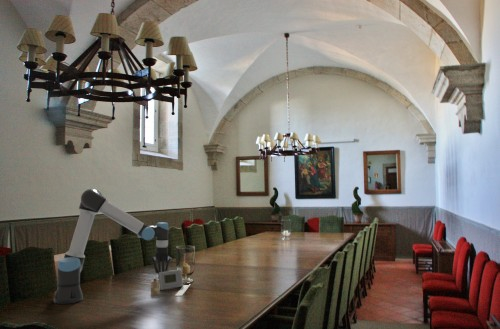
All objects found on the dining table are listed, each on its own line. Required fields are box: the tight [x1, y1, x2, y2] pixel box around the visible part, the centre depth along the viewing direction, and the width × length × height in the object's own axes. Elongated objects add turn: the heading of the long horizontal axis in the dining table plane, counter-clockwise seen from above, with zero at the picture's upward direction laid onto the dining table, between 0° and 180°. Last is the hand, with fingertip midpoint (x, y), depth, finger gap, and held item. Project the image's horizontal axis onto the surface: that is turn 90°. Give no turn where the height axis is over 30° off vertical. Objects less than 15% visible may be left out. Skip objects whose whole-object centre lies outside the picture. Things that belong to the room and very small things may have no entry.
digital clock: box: [158, 268, 184, 291], centre depth 259 cm, size 16×9×11 cm, turn 118°
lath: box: [174, 284, 192, 297], centre depth 256 cm, size 4×36×1 cm, turn 179°
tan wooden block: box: [150, 278, 160, 296], centre depth 243 cm, size 4×4×9 cm
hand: (161, 284), depth 260 cm, fingers closed
